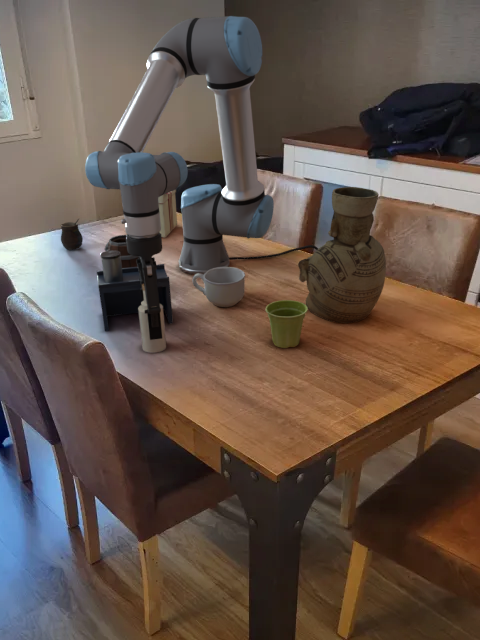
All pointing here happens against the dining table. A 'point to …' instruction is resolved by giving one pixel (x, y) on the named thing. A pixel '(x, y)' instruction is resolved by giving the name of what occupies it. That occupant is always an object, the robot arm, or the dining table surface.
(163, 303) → the blue channel bracket
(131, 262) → the mug
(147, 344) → the oil bottle
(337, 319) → the ceramic vessel
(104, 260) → the spice tin
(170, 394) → the dining table surface
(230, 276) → the teacup
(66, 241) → the mate gourd
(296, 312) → the plant pot
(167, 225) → the gift box
